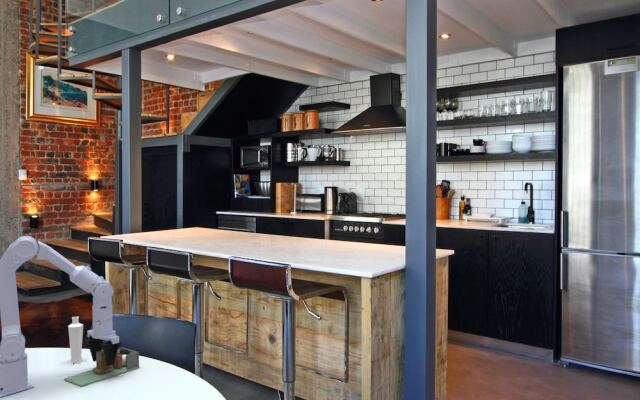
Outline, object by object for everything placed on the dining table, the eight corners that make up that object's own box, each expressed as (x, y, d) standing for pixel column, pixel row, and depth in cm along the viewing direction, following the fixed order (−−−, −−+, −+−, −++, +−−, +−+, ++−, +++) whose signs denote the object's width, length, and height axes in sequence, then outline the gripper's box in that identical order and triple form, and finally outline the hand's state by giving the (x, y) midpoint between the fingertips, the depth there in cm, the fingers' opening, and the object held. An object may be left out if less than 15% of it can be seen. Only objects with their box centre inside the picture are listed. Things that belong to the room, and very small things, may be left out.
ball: (132, 354, 166) (131, 365, 165) (126, 352, 168) (125, 363, 168) (122, 356, 163) (122, 367, 163) (116, 354, 165) (115, 365, 165)
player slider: (100, 374, 156) (99, 354, 156) (92, 371, 159) (92, 352, 159) (123, 367, 163) (122, 347, 163) (116, 364, 165) (115, 345, 165)
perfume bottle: (72, 365, 168) (72, 319, 167) (66, 362, 170) (65, 317, 170) (86, 361, 171) (85, 317, 171) (79, 359, 174) (78, 315, 174)
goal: (127, 371, 161) (126, 355, 161) (111, 366, 166) (110, 350, 166) (139, 367, 165) (138, 352, 164) (122, 362, 170) (122, 347, 170)
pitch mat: (81, 387, 148) (81, 385, 148) (63, 380, 154) (63, 378, 154) (138, 368, 164) (138, 366, 164) (120, 362, 170) (120, 361, 170)
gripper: (127, 319, 158) (128, 363, 158) (101, 313, 167) (102, 355, 167) (106, 324, 152) (107, 370, 153) (80, 318, 161) (81, 361, 161)
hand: (103, 362), depth 159 cm, fingers open, 7 cm apart
